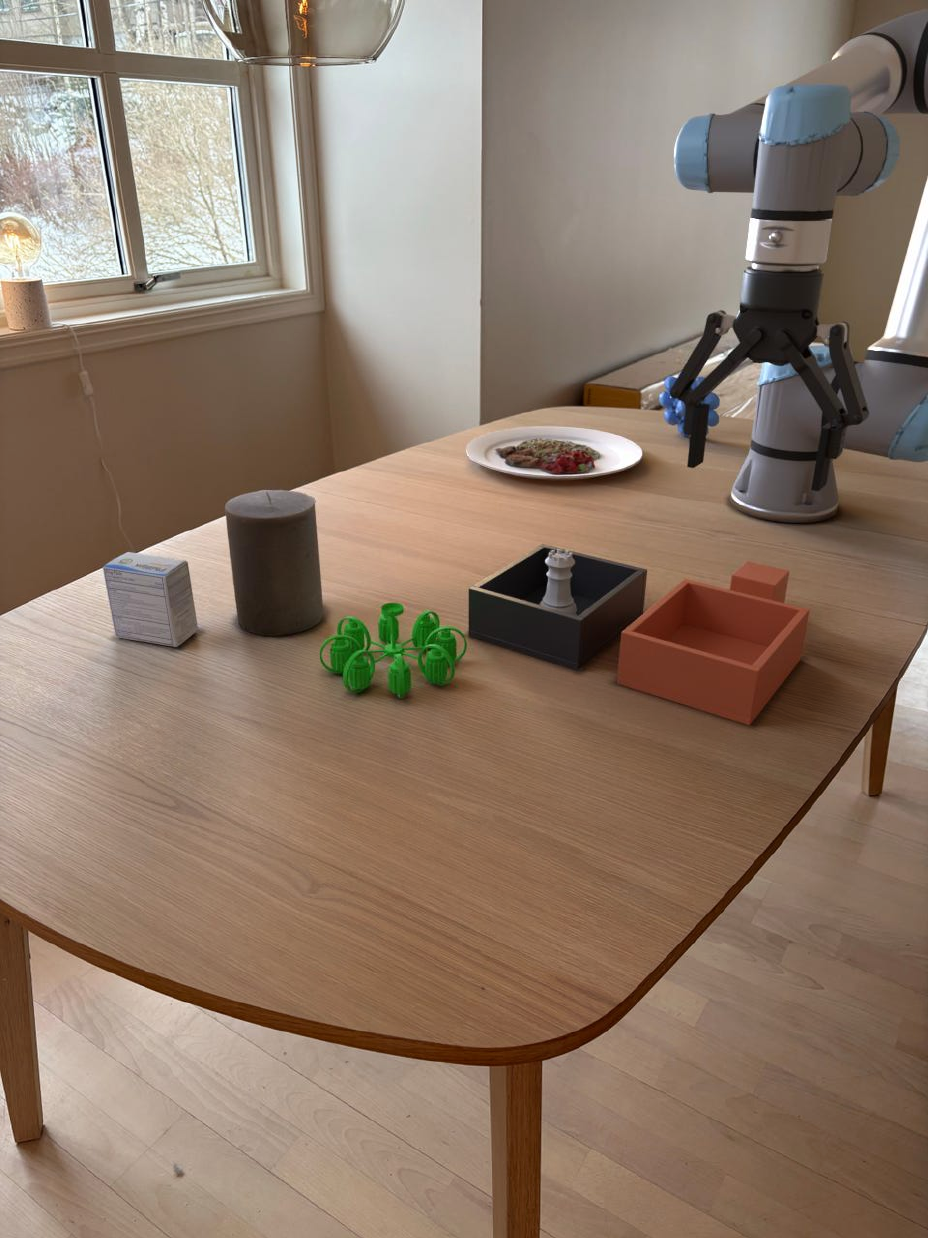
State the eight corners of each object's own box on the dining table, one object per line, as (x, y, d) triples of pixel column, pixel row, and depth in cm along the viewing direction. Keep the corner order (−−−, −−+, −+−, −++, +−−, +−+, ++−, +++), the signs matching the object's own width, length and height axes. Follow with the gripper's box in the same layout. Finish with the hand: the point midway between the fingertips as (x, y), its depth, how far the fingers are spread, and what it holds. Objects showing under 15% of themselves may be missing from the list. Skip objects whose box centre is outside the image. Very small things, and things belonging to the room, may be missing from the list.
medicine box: (199, 631, 105) (189, 559, 101) (176, 649, 101) (165, 575, 97) (139, 621, 107) (127, 550, 103) (114, 638, 104) (100, 565, 100)
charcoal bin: (540, 587, 116) (542, 543, 113) (643, 616, 109) (647, 569, 106) (468, 636, 104) (468, 588, 102) (577, 671, 97) (581, 620, 95)
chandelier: (454, 629, 105) (454, 572, 102) (479, 699, 92) (480, 635, 89) (318, 640, 103) (313, 582, 100) (324, 713, 90) (319, 648, 87)
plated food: (548, 427, 182) (549, 409, 181) (677, 461, 162) (679, 441, 161) (430, 457, 164) (429, 438, 163) (558, 500, 144) (559, 479, 143)
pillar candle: (251, 644, 102) (236, 512, 96) (227, 609, 110) (212, 485, 104) (336, 625, 106) (328, 497, 100) (307, 593, 114) (298, 472, 108)
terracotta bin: (679, 625, 107) (684, 578, 104) (800, 659, 100) (809, 609, 97) (616, 683, 95) (621, 632, 92) (749, 725, 88) (758, 671, 86)
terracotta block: (741, 599, 113) (746, 560, 111) (783, 610, 110) (789, 570, 108) (726, 614, 109) (731, 574, 107) (769, 626, 107) (775, 585, 104)
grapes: (647, 437, 176) (653, 371, 171) (660, 429, 181) (666, 365, 176) (709, 446, 171) (717, 379, 165) (720, 437, 176) (728, 372, 171)
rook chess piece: (575, 630, 104) (579, 562, 100) (534, 626, 104) (537, 559, 101) (579, 612, 108) (583, 547, 104) (539, 609, 108) (542, 544, 105)
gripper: (650, 261, 96) (633, 464, 106) (910, 279, 83) (865, 508, 93) (680, 255, 102) (662, 448, 111) (929, 270, 89) (885, 487, 98)
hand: (754, 475), depth 102 cm, fingers open, 13 cm apart
